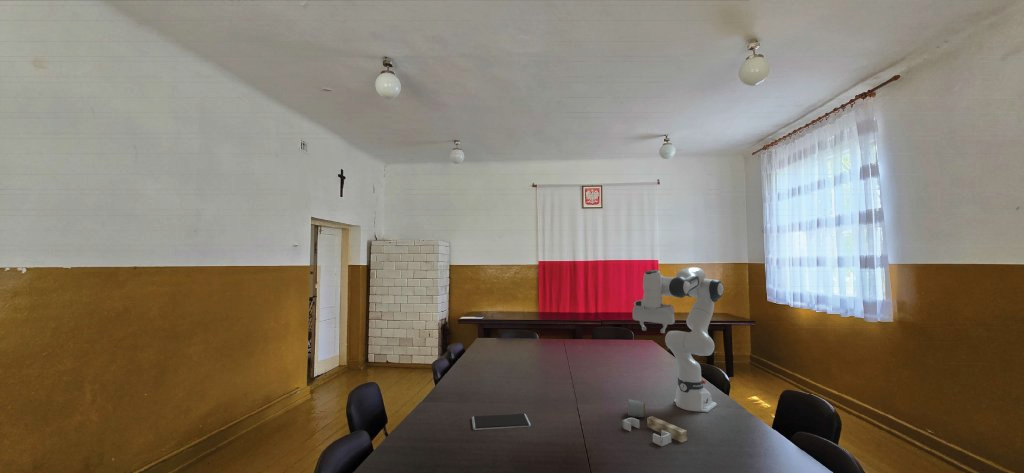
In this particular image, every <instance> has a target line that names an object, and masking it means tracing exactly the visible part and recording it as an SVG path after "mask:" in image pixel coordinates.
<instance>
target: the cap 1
mask: <svg viewBox="0 0 1024 473" xmlns="http://www.w3.org/2000/svg"><path fill="white" fill-rule="evenodd" d="M621 423H622V429H623V430H626V431H629V432H632V427H634V428H637V429H640V419H637V418H636V417H634V416H629V417H628V418H625V419H622V420H621Z"/></svg>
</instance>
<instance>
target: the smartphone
mask: <svg viewBox="0 0 1024 473" xmlns="http://www.w3.org/2000/svg"><path fill="white" fill-rule="evenodd" d="M471 423H472V429H473V430H474V431H480V430H481V431H483V430H499V429H512V428H513V429H514V428H529V427H531V422H530V420H529V418H528V416H527V414H526V413H515V414H514V413H512V414H495V415H494V414H493V415H491V414H490V415H473V416H471Z"/></svg>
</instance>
